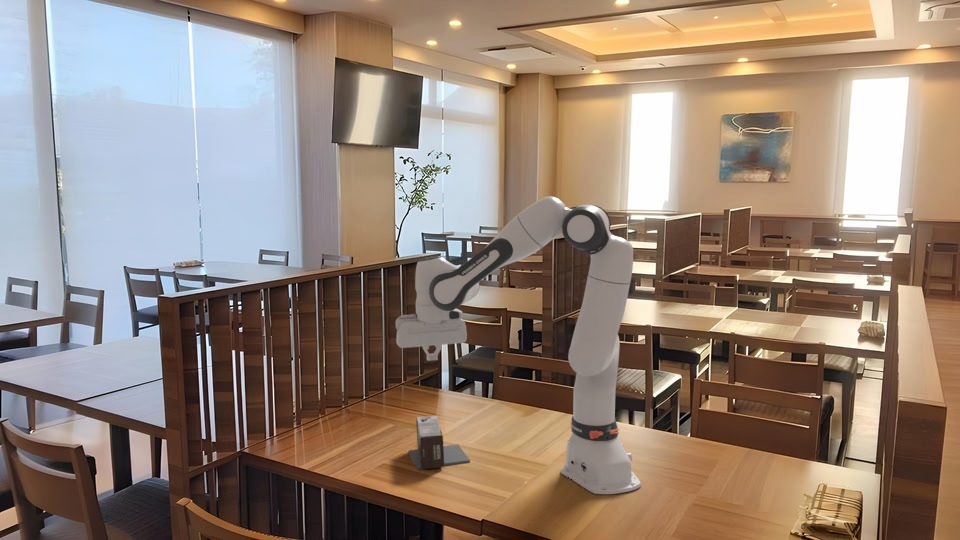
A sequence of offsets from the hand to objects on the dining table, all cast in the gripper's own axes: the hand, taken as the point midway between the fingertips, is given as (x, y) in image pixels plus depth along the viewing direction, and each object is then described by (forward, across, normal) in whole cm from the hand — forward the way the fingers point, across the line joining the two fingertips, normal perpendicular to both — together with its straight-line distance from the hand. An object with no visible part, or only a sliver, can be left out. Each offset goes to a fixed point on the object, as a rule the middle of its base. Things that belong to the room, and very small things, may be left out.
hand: (432, 360), depth 194 cm
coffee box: (+22, -1, +2) cm, 22 cm away
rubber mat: (+27, 0, -6) cm, 28 cm away
